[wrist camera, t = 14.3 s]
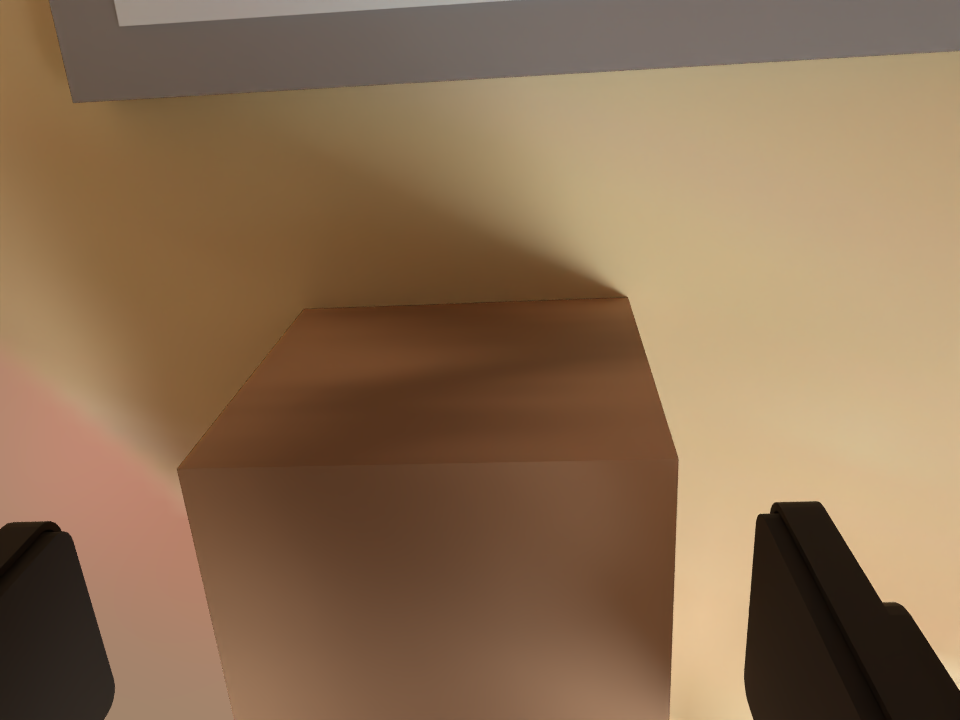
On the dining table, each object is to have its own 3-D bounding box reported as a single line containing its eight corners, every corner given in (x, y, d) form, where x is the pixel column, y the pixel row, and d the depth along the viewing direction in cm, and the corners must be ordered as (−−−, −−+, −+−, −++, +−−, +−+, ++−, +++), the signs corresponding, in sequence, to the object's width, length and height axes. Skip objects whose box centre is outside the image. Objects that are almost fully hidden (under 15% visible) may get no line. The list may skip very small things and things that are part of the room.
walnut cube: (627, 295, 14) (678, 458, 9) (625, 568, 16) (665, 826, 11) (304, 307, 15) (176, 469, 9) (343, 571, 17) (256, 820, 12)
